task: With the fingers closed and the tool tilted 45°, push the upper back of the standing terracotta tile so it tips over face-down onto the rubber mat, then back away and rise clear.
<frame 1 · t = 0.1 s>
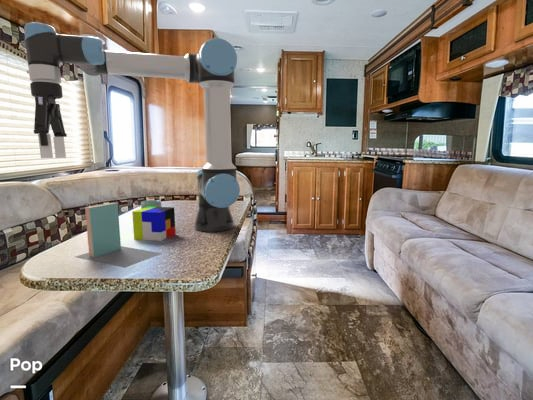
hand: (54, 158, 97), 28 cm above the table, tool pointing down, fingers open, 13 cm apart
mat: (119, 256, 94), on the table
tile: (105, 252, 97), resting on mat
puzzle toy: (155, 238, 115), on the table
cup: (152, 226, 133), on the table
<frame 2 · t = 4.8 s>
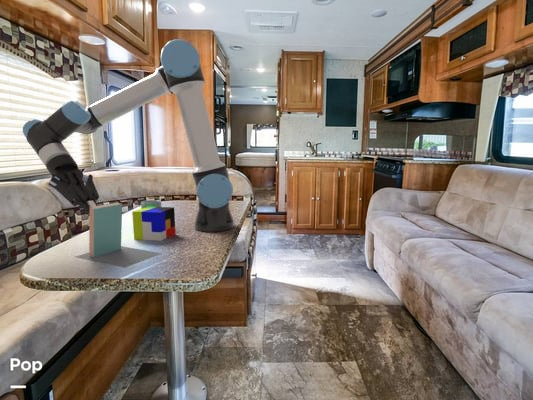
hand: (100, 220, 95), 10 cm above the table, tool tilted 45°, fingers closed
tile: (105, 252, 97), point 1 cm above the table, tilted 8°, touching mat
everything else where it was.
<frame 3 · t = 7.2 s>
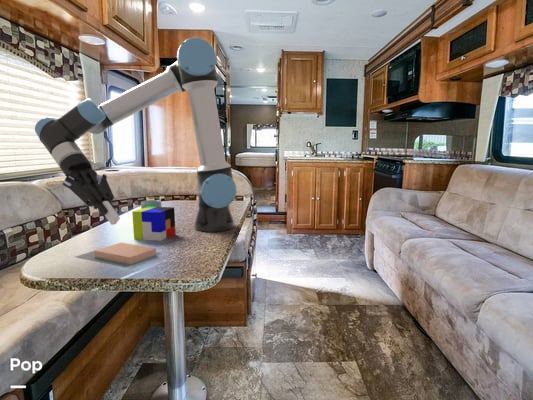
hand: (115, 221, 93), 10 cm above the table, tool tilted 45°, fingers closed
tile: (108, 249, 96), point 1 cm above the table, tilted 90°, touching mat
everything else where it was.
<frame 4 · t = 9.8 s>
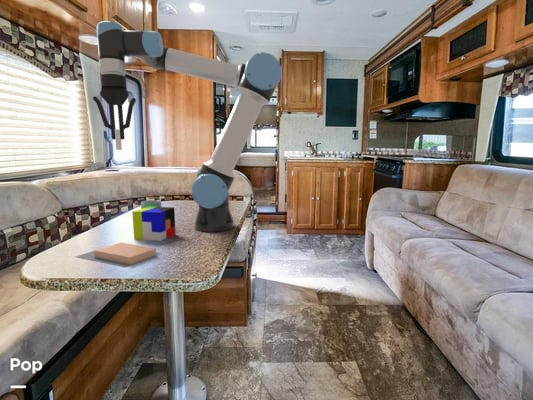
hand: (119, 149, 110), 30 cm above the table, tool pointing down, fingers closed
nothing on the table moved.
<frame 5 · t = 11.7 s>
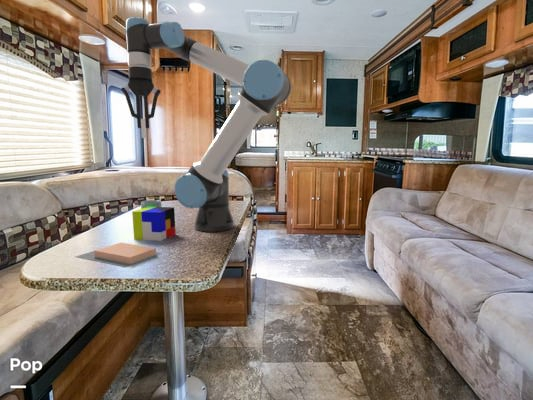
hand: (144, 137, 117), 34 cm above the table, tool pointing down, fingers closed
nothing on the table moved.
at the end: tile tilted 90°; tile inside the target area on the mat (0.5 cm from its centre), point 1.5 cm above the mat's base; tile touching mat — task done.
